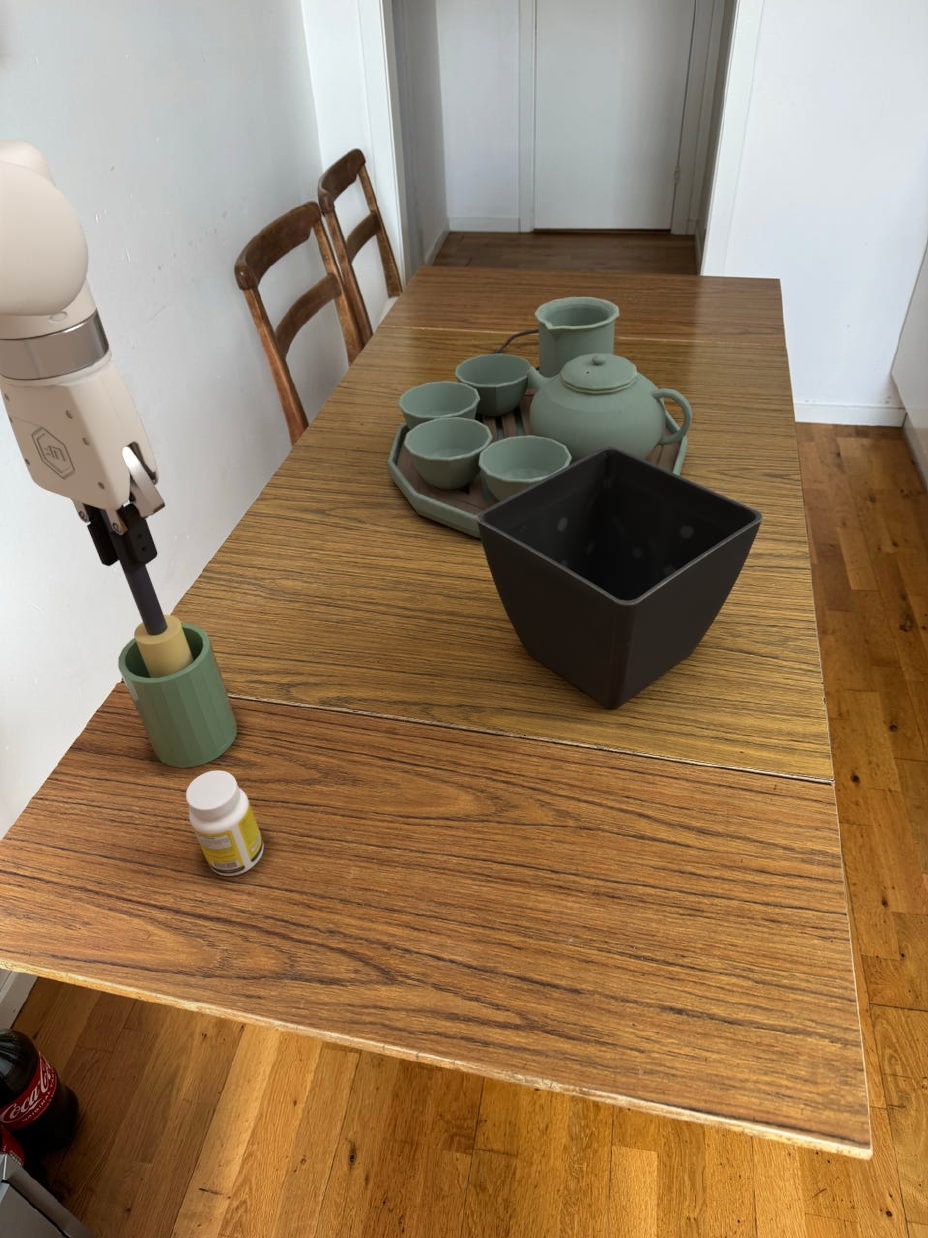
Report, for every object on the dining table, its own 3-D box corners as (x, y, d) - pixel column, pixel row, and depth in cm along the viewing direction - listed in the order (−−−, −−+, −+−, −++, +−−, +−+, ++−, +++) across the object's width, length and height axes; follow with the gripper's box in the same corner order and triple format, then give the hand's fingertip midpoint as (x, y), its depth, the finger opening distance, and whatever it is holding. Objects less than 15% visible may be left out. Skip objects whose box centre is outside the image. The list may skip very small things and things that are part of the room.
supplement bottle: (247, 821, 78) (224, 756, 72) (274, 855, 75) (253, 789, 70) (197, 852, 76) (170, 788, 70) (223, 888, 73) (197, 823, 67)
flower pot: (744, 651, 90) (769, 510, 80) (620, 749, 81) (629, 605, 71) (603, 574, 102) (608, 442, 91) (481, 652, 93) (470, 516, 82)
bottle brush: (191, 693, 80) (126, 515, 68) (148, 694, 80) (75, 517, 68) (202, 663, 83) (142, 487, 71) (160, 665, 83) (93, 490, 71)
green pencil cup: (227, 766, 83) (196, 680, 76) (143, 769, 83) (105, 684, 76) (245, 705, 89) (218, 621, 82) (167, 708, 90) (134, 624, 83)
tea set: (393, 411, 138) (380, 305, 127) (652, 390, 137) (660, 282, 127) (387, 560, 107) (368, 436, 97) (720, 534, 106) (737, 407, 96)
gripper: (-68, 347, 63) (31, 560, 74) (83, 386, 56) (165, 614, 67) (21, 310, 67) (101, 515, 79) (170, 341, 60) (233, 561, 72)
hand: (130, 559), depth 73 cm, fingers closed on bottle brush
